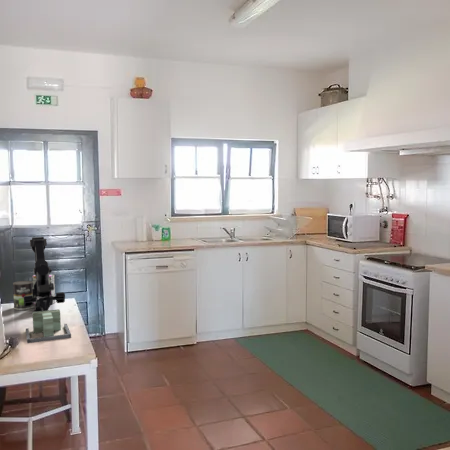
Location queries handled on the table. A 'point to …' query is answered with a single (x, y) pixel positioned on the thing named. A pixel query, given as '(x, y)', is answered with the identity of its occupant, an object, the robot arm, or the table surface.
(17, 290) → the coffee can
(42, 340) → the frame
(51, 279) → the candy bar box
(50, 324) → the T-block
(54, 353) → the table surface
